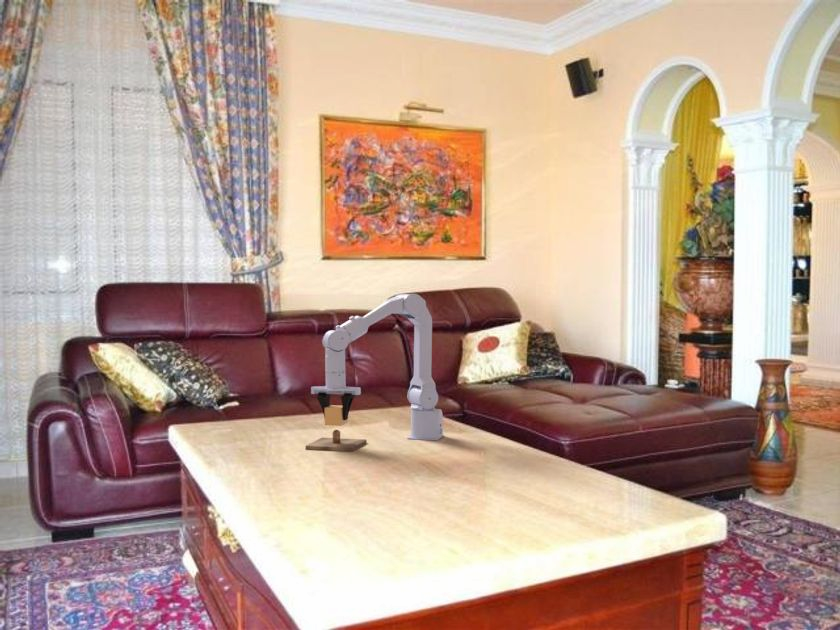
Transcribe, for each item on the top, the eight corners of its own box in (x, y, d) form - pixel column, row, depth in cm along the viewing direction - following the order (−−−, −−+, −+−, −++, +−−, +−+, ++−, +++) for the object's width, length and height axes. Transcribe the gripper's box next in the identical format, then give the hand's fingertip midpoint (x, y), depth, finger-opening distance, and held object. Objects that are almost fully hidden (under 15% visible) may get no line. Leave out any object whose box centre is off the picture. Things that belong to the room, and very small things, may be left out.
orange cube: (347, 422, 215) (347, 405, 214) (341, 425, 210) (341, 408, 210) (331, 422, 216) (331, 405, 216) (324, 425, 211) (324, 407, 211)
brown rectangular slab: (366, 442, 217) (366, 426, 217) (352, 451, 205) (352, 434, 205) (322, 441, 221) (321, 425, 221) (305, 449, 209) (305, 432, 209)
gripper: (306, 373, 210) (307, 420, 211) (354, 374, 207) (355, 422, 207) (316, 370, 217) (316, 416, 218) (362, 371, 213) (363, 418, 214)
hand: (336, 419), depth 213 cm, fingers closed on orange cube, 5 cm apart
